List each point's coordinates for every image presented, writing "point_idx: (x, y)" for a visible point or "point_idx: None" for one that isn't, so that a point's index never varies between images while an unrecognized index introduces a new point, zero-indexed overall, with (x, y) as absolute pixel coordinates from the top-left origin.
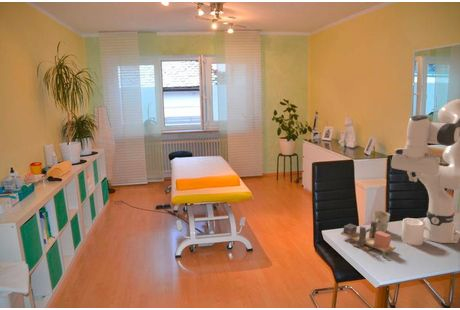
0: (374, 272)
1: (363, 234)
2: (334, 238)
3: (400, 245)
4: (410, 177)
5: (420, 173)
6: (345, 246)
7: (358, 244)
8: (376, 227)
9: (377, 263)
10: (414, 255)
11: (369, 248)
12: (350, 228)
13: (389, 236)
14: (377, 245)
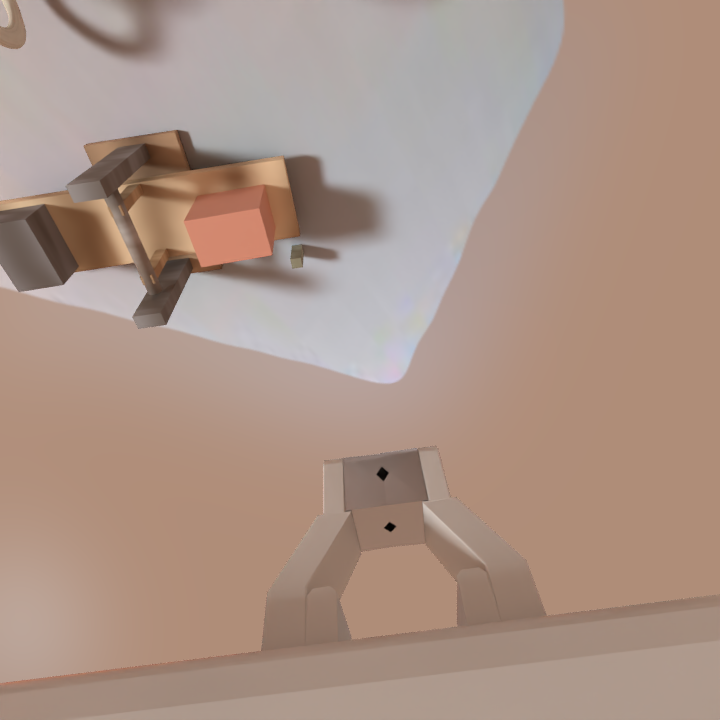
0: (357, 365)
1: (173, 304)
2: None
3: (243, 38)
4: (357, 549)
5: (534, 585)
6: None
7: None
8: (19, 34)
9: (321, 311)
10: (367, 97)
11: None
12: (56, 280)
13: (263, 222)
14: None
